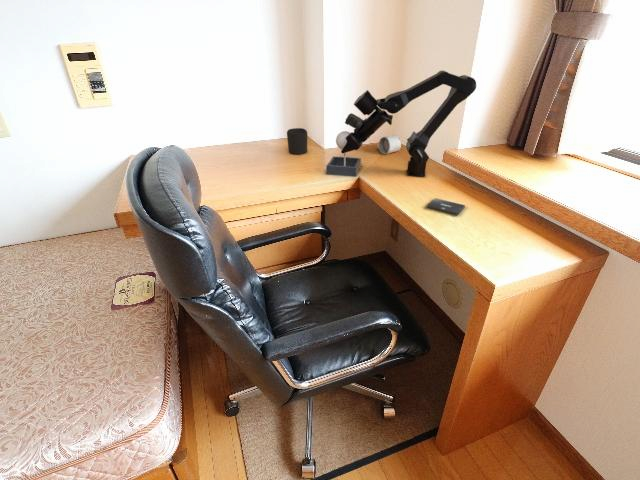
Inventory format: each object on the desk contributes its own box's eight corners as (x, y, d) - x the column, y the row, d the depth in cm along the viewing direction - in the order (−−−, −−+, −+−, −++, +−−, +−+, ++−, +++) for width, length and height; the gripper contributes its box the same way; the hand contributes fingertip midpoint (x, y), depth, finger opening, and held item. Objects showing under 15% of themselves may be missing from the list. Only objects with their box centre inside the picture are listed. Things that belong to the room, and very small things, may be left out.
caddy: (360, 166, 148) (361, 158, 146) (356, 176, 138) (356, 167, 136) (333, 164, 151) (333, 156, 149) (326, 174, 141) (326, 165, 139)
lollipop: (352, 165, 147) (353, 128, 139) (354, 171, 141) (355, 133, 133) (335, 165, 147) (335, 129, 139) (336, 171, 141) (336, 134, 133)
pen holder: (311, 150, 167) (311, 129, 162) (300, 156, 160) (299, 134, 155) (295, 148, 171) (294, 127, 166) (284, 153, 165) (282, 131, 159)
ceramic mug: (401, 152, 162) (403, 136, 158) (388, 156, 159) (390, 138, 155) (386, 147, 170) (387, 131, 166) (373, 150, 166) (374, 134, 162)
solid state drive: (458, 215, 108) (458, 213, 108) (426, 207, 113) (427, 205, 113) (464, 207, 113) (465, 205, 113) (434, 199, 118) (435, 197, 118)
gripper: (364, 102, 137) (338, 129, 146) (351, 111, 122) (322, 141, 131) (383, 123, 139) (355, 149, 148) (372, 136, 124) (342, 163, 133)
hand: (344, 150), depth 140 cm, fingers closed on lollipop, 6 cm apart
